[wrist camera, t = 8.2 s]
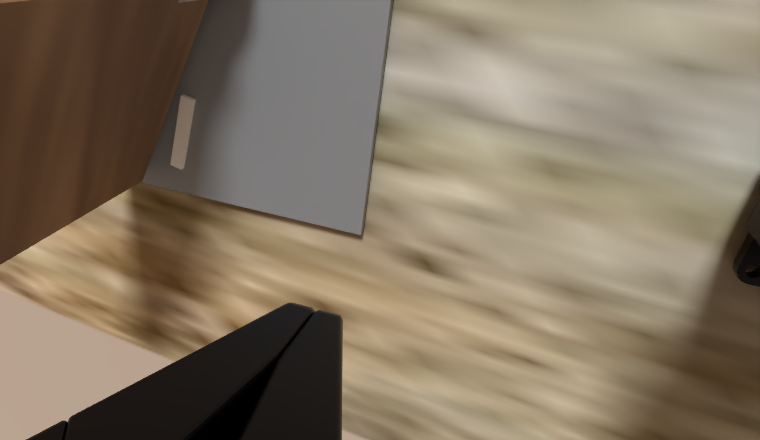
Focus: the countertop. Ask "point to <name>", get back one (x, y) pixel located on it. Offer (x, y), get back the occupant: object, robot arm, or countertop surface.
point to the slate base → (279, 109)
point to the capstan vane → (82, 104)
